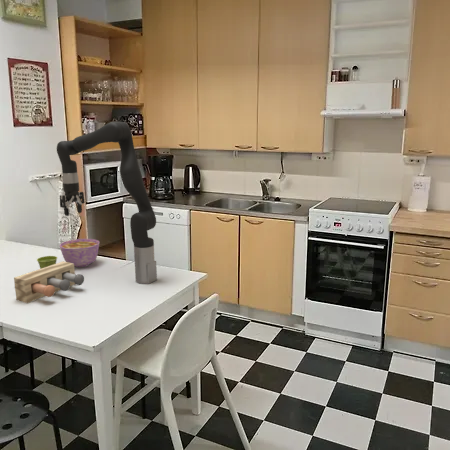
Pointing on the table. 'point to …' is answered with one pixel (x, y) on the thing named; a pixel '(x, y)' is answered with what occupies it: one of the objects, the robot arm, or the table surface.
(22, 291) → the socket rail
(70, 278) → the grey dowel
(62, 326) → the table surface
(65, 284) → the grey dowel
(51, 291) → the dowel terracotta
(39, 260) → the plant pot
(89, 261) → the bowl of food
